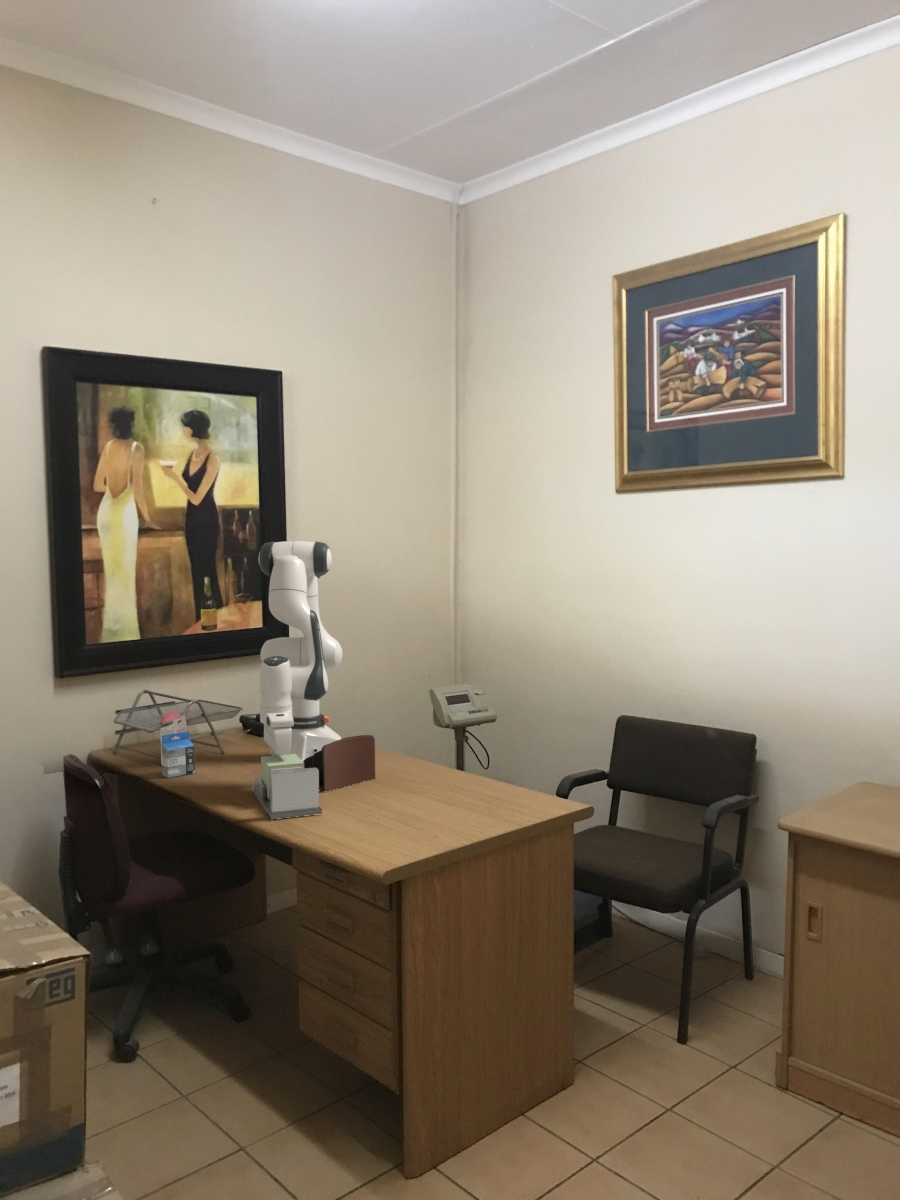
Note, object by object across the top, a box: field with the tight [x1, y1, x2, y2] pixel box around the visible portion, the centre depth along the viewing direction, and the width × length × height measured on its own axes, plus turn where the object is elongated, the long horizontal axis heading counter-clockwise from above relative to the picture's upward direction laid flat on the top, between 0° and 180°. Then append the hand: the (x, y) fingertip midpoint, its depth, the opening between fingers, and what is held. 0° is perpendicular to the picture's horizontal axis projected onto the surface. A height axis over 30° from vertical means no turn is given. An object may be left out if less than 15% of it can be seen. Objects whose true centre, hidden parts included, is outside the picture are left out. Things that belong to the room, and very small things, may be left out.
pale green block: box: [260, 754, 304, 799], centre depth 257 cm, size 12×10×9 cm
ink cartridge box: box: [159, 714, 188, 765], centre depth 295 cm, size 9×5×15 cm, turn 168°
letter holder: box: [303, 734, 376, 793], centre depth 274 cm, size 10×20×14 cm, turn 138°
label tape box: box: [161, 730, 196, 779], centre depth 282 cm, size 9×4×12 cm, turn 131°
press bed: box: [251, 768, 323, 820], centre depth 254 cm, size 29×13×12 cm, turn 21°
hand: (276, 764), depth 264 cm, fingers closed
